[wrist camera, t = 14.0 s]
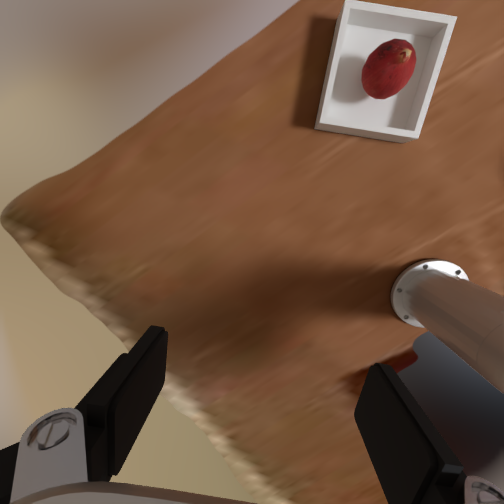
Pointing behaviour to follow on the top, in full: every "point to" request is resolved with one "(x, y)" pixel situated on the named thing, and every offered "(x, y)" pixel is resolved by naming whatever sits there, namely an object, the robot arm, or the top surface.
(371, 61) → the onion
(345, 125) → the box
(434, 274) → the robot arm
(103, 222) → the top surface
